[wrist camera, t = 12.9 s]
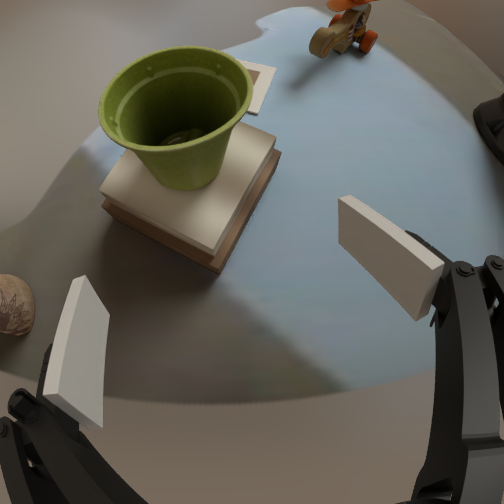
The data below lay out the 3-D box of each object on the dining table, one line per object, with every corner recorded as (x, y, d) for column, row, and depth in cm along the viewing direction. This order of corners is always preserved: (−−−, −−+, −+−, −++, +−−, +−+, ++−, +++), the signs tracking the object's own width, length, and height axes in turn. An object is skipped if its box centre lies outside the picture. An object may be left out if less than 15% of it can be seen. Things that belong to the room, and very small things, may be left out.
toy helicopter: (373, 47, 38) (399, -3, 25) (331, 91, 33) (363, 18, 20) (336, 27, 39) (356, -24, 25) (282, 65, 34) (300, -9, 21)
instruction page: (230, 59, 33) (230, 57, 33) (276, 69, 34) (276, 67, 33) (204, 102, 31) (204, 100, 31) (257, 114, 31) (258, 112, 31)
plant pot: (207, 103, 24) (203, 31, 15) (266, 172, 22) (286, 102, 14) (119, 151, 22) (83, 88, 13) (166, 234, 21) (131, 184, 12)
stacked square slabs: (176, 126, 30) (168, 90, 24) (276, 168, 30) (287, 134, 23) (114, 218, 27) (88, 194, 21) (219, 274, 27) (217, 262, 20)
